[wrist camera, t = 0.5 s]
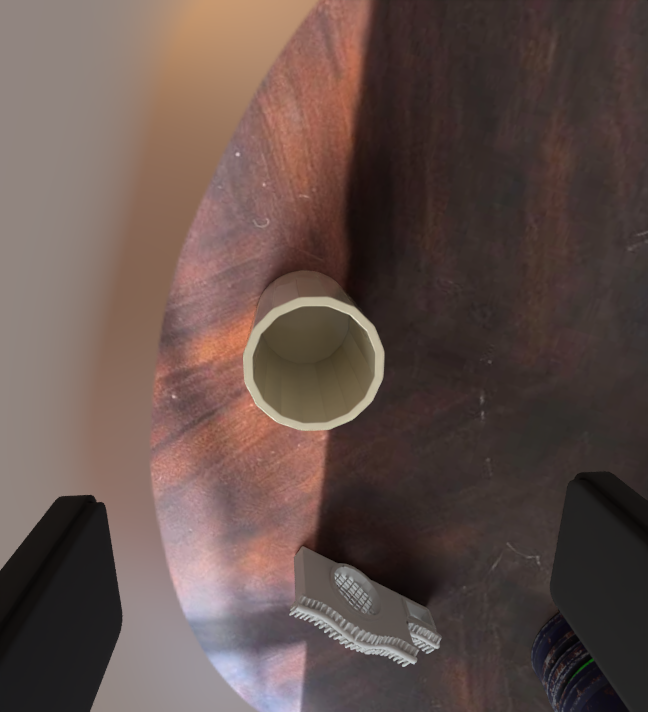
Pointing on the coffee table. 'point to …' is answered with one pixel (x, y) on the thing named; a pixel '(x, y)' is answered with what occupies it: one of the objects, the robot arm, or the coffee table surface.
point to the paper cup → (311, 353)
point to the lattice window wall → (352, 627)
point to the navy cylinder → (571, 672)
